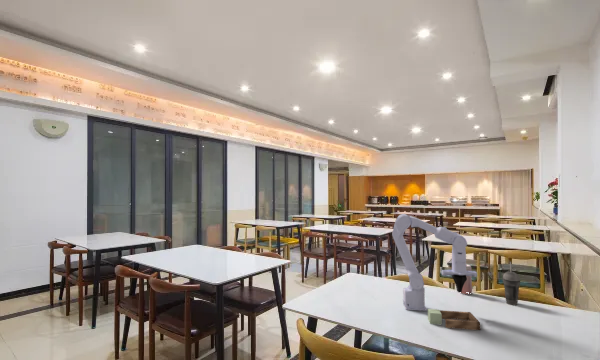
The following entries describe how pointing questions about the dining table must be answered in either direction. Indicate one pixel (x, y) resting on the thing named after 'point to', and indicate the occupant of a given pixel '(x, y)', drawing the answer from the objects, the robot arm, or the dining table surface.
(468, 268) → the beverage can
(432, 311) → the cube
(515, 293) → the beverage cup
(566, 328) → the dining table surface
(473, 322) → the frame
